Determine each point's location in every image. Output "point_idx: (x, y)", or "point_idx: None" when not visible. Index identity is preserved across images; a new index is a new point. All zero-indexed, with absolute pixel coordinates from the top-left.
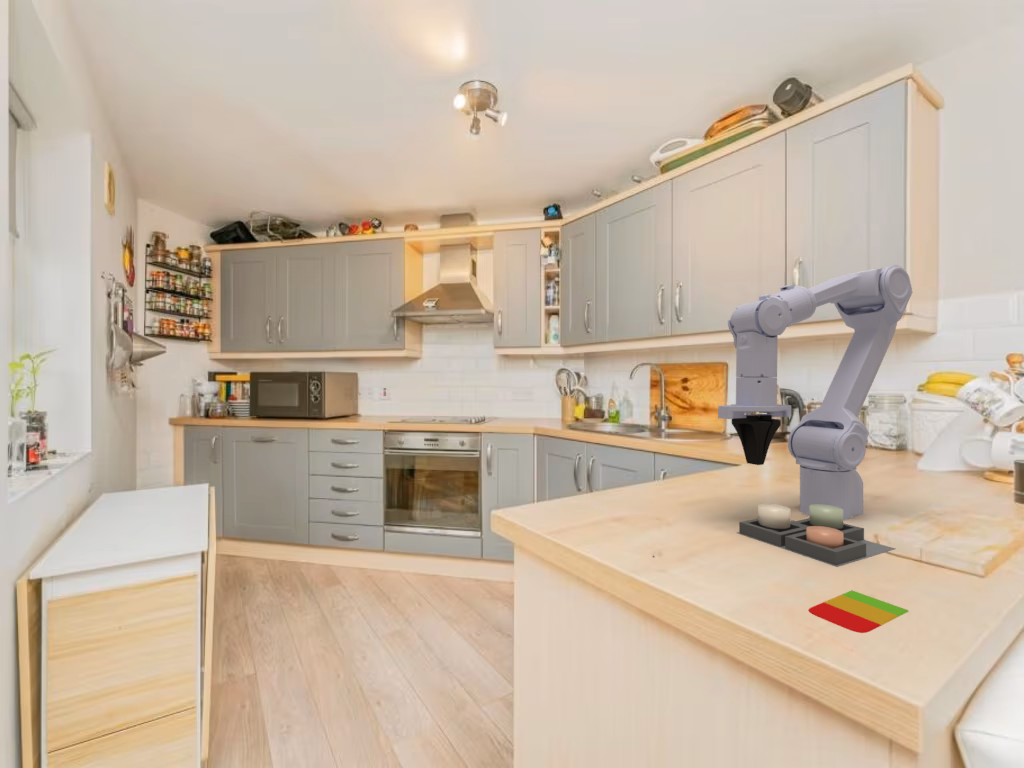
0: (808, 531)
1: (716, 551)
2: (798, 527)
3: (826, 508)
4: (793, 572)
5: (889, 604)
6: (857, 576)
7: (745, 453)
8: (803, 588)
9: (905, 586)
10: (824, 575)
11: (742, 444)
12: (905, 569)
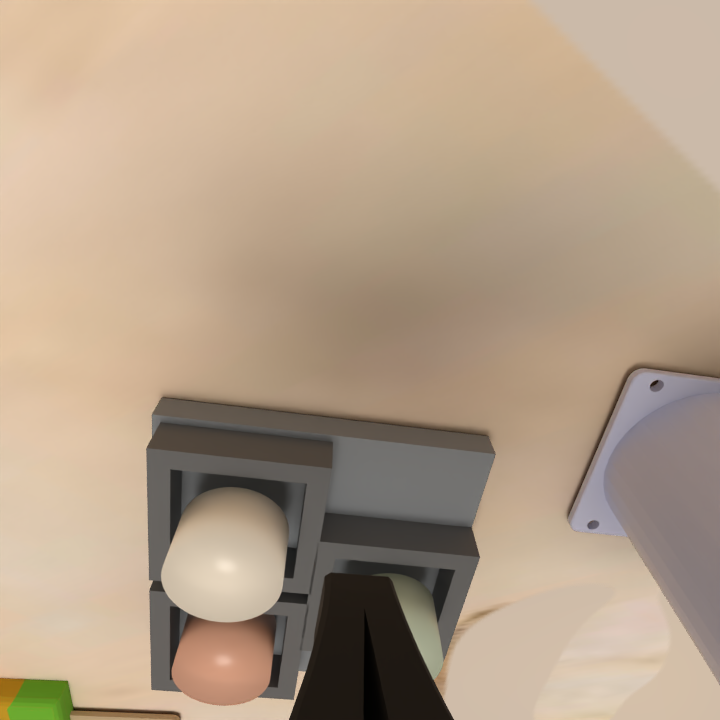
0: (179, 653)
1: (6, 412)
2: (295, 568)
3: None
4: (90, 585)
5: None
6: None
7: (316, 636)
8: (25, 626)
9: (241, 703)
10: (144, 622)
11: (293, 708)
12: None
